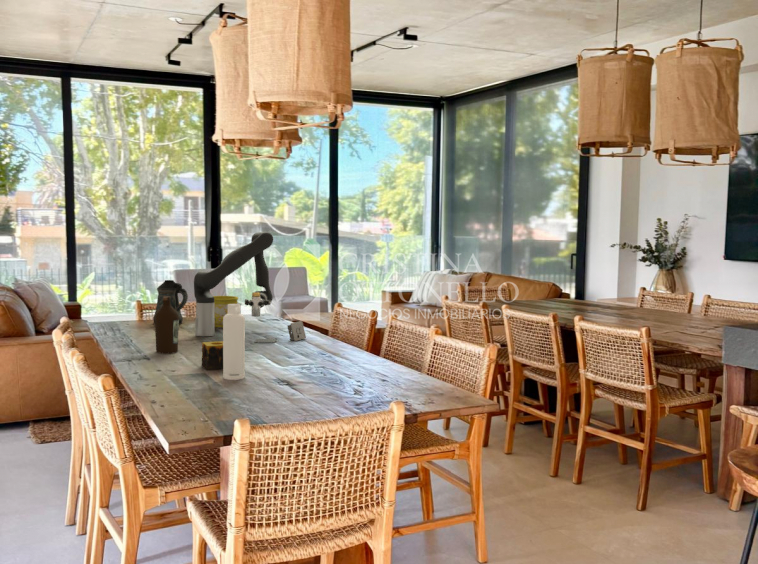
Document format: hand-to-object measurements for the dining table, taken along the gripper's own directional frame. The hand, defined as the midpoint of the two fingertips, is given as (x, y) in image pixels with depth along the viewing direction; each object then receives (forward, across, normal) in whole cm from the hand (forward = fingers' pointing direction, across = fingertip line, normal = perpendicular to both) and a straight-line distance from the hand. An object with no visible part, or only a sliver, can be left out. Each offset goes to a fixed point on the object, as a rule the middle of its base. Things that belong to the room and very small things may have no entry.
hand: (255, 303), depth 359 cm
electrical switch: (+2, +21, +18) cm, 28 cm away
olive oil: (+38, -35, +18) cm, 55 cm away
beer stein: (-53, -55, +18) cm, 78 cm away
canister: (-3, 0, +6) cm, 7 cm away
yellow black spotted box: (+72, -7, +18) cm, 75 cm away
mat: (+8, +6, +18) cm, 20 cm away
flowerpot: (-44, -24, +18) cm, 53 cm away
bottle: (+91, +3, +18) cm, 93 cm away
